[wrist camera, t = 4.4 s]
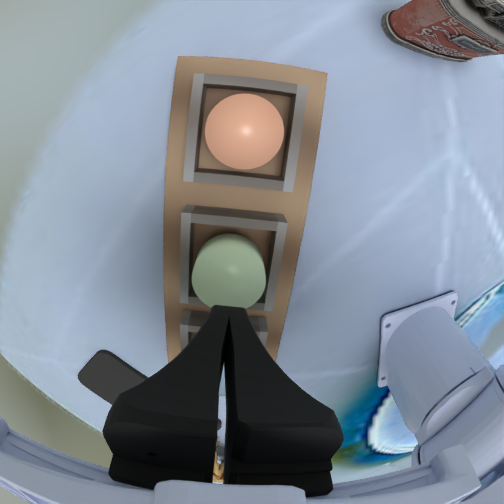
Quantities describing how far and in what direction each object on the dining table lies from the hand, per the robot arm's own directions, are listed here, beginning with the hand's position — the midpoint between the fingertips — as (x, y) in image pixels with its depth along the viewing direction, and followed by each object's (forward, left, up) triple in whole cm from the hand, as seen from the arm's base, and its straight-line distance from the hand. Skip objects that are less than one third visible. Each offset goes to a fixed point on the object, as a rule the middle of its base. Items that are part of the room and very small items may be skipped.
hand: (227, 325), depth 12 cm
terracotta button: (+7, -3, -6) cm, 9 cm away
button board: (+1, 0, -8) cm, 8 cm away
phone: (-14, +13, -8) cm, 21 cm away
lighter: (+13, -17, -8) cm, 23 cm away
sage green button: (+1, 0, -4) cm, 4 cm away
